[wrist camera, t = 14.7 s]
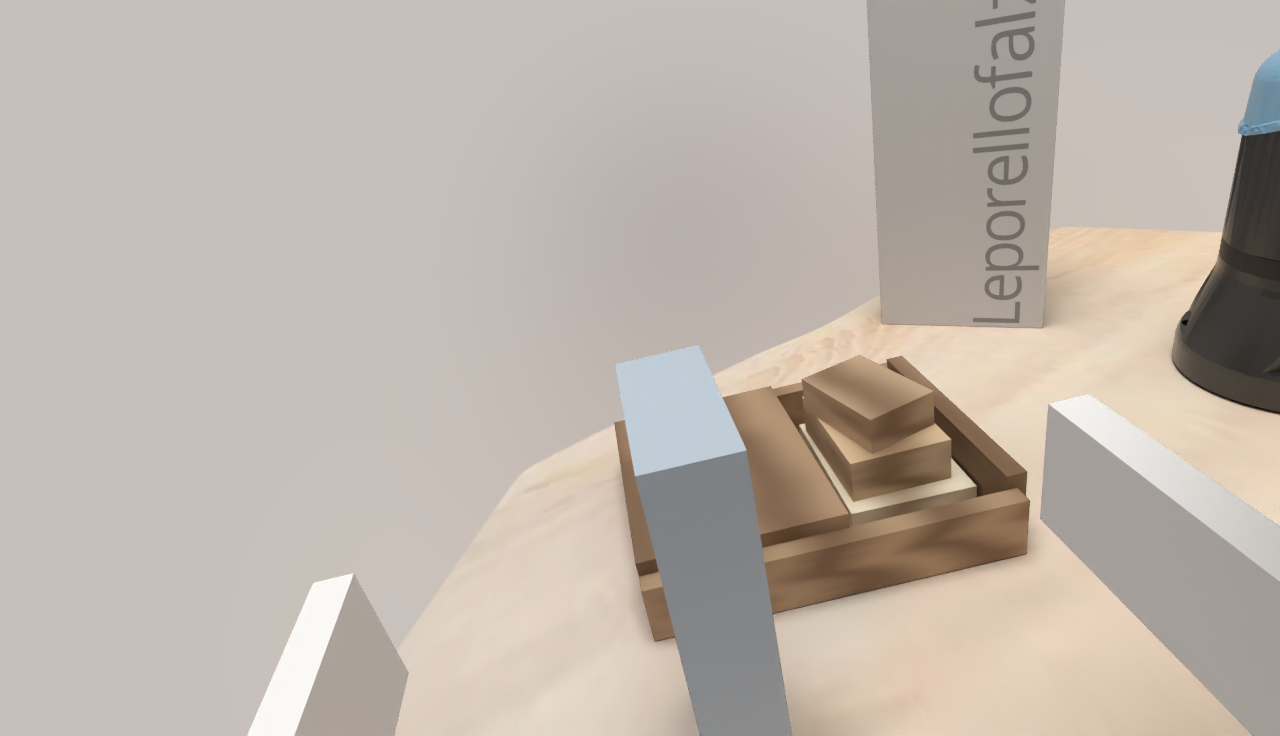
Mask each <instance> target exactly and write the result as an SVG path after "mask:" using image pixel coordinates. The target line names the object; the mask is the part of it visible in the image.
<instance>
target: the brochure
mask: <svg viewBox="0 0 1280 736" xmlns="http://www.w3.org/2000/svg"><path fill="white" fill-rule="evenodd" d="M1064 8H1065V0H867V14H868V36H869V57H870V79H871V101H872V120H873V144H874V166H875V186H876V208H877V230H878V251H879V273H880V295H881V317H882V324H903V325H942V326H982V327H1021V328H1043V313H1044V299H1045V284H1046V270H1047V255H1048V241H1049V226H1050V211H1051V197H1052V183H1053V167H1054V153H1055V139H1056V125H1057V110H1058V95H1059V81H1060V66H1061V52H1062V37H1063V23H1064Z"/></svg>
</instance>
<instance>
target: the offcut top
mask: <svg viewBox="0 0 1280 736" xmlns="http://www.w3.org/2000/svg"><path fill="white" fill-rule="evenodd" d="M802 386H803V395H804V404H805V410H806V411H808V412H809V413H811V414H812V415H814V416H816V417H817V418H819V419H820V420H822V421H823V422H825V423H826V424H828V425H829V426H831V427H832V428H834V429H835V430H837V431H838V432H840V433H842V434H843V435H845V436H846V437H848V438H849V439H851V440H852V441H854V442H855V443H857V444H858V445H860V446H861V447H863V448H864V449H866V450H868V451H869V452H871V453H872V454H873V453H875V452H877V451H879V450H881V449H883V448H885V447H887V446H889V445H892V444H894V443H896V442H898V441H900V440H902V439H904V438H906V437H908V436H911V435H913V434H915V433H917V432H919V431H921V430H923V429H925V428H927V427H929V426H932V425H934V391H933V390H931V389H929V388H927V387H925V386H922V385H920V384H918V383H916V382H914V381H912V380H910V379H908V378H906V377H904V376H902V375H900V374H898V373H896V372H894V371H892V370H890V369H888V368H885V367H883V366H881V365H879V364H877V363H875V362H873V361H871V360H869V359H867V358H865V357H863V356H861V355H858V356H856V357H854V358H851V359H849V360H846V361H844V362H842V363H839V364H837V365H835V366H832V367H830V368H827V369H825V370H823V371H820V372H818V373H816V374H813V375H811V376H808V377H806V378H804V379H802Z"/></svg>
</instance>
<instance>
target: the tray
mask: <svg viewBox="0 0 1280 736" xmlns="http://www.w3.org/2000/svg"><path fill="white" fill-rule="evenodd" d="M879 365H881V366H883V367H885V368H888V369H890V370H892V371H894V372H896V373H898V374H900V375H902V376H904V377H906V378H908V379H910V380H912V381H914V382H916V383H918V384H920V385H922V386H925V387H927V388H929V389H931V390H933V391H934V423H935V424H936V425H937V426H938V427H939V428H940V429H941V430H942V431H943V432H944V433H945V434H946V435H947V436H948V437H949V438H950V439H951V458H952V459H953V460H954V461H955V462H956V464H957V465H958V466H959V467H960V468H961V469H962V470H963V471H964V472H965V474H966V475H967V476H968V477H969V478H970V479H971V480H972V481H973V482H974V484H975V485H976V486H977V497H976V498H972V499H968V500H963V501H959V502H955V503H950V504H946V505H942V506H938V507H933V508H929V509H925V510H921V511H916V512H912V513H908V514H904V515H899V516H895V517H891V518H887V519H882V520H878V521H874V522H869V523H865V524H861V525H857V526H852V527H850V525H849V514H848V512H847V510H846V509H845V507H844V505H843V504H842V502H841V501H840V499H839V497H838V496H837V494H836V492H835V491H834V489H833V487H832V486H831V484H830V483H829V481H828V479H827V478H826V476H825V474H824V473H823V471H822V469H821V468H820V466H819V465H818V463H817V461H816V460H815V458H814V456H813V455H812V453H811V452H810V450H809V448H808V447H807V445H806V443H805V442H804V440H803V438H802V437H801V435H800V429H799V425H800V424H805V418H804V409H803V400H802V396H804V395H803V386H802V382H801V383H797V384H792V385H788V386H784V387H780V388H775V389H772V388H771V386H770V387H765V388H761V389H757V390H752V391H748V392H744V393H740V394H735V395H731V396H727V397H722V398H723V400H724V402H725V404H726V406H727V408H728V411H729V413H730V415H731V417H732V419H733V421H734V424H735V426H736V428H737V430H738V432H739V435H740V437H741V439H742V441H743V443H744V445H745V448H746V450H747V455H748V461H749V467H750V474H751V480H752V486H753V493H754V499H755V505H756V512H757V518H758V524H759V531H760V537H761V543H762V550H763V556H764V562H765V569H766V575H767V581H768V588H769V594H770V600H771V607H772V613H777V612H781V611H785V610H790V609H794V608H798V607H802V606H807V605H811V604H815V603H819V602H824V601H828V600H832V599H836V598H841V597H845V596H849V595H853V594H858V593H862V592H866V591H870V590H875V589H879V588H883V587H887V586H892V585H896V584H900V583H904V582H909V581H913V580H917V579H921V578H926V577H930V576H934V575H938V574H943V573H947V572H951V571H955V570H959V569H964V568H968V567H972V566H976V565H981V564H985V563H989V562H993V561H998V560H1002V559H1006V558H1010V557H1015V556H1019V555H1023V554H1026V550H1027V535H1028V521H1029V506H1030V500H1029V499H1028V498H1027V497H1026V483H1027V471H1026V470H1025V469H1024V468H1023V467H1022V466H1020V465H1019V464H1018V463H1017V462H1016V461H1015V460H1014V459H1013V458H1012V457H1011V456H1010V455H1009V454H1007V453H1006V452H1005V451H1004V450H1003V449H1002V448H1001V447H1000V446H999V445H998V444H997V443H996V442H994V441H993V440H992V439H991V438H990V437H989V436H988V435H987V434H986V433H985V432H984V431H983V430H982V429H980V428H979V427H978V426H977V425H976V424H975V423H974V422H973V421H972V420H971V419H970V418H969V417H967V416H966V415H965V414H964V413H963V412H962V411H961V410H960V409H959V408H958V407H957V406H956V405H954V404H953V403H952V402H951V401H950V400H949V399H948V398H947V397H946V396H945V395H944V394H943V393H942V392H940V391H939V390H938V389H937V388H936V387H935V386H934V385H933V384H932V383H931V382H930V381H929V380H927V379H926V378H925V377H924V376H923V375H922V374H921V373H920V372H919V371H918V370H917V369H916V368H914V367H913V366H912V365H911V364H910V363H909V362H908V361H907V360H906V359H905V358H904V357H903V356H899V357H895V358H890V359H887V363H883V364H879ZM614 424H615V430H616V437H617V444H618V450H619V457H620V464H621V470H622V477H623V483H624V490H625V497H626V503H627V510H628V517H629V523H630V530H631V536H632V543H633V550H634V556H635V563H636V567H637V571H638V574H639V579H640V586H641V592H642V596H643V599H644V603H645V607H646V611H647V614H648V618H649V622H650V625H651V629H652V633H653V637H654V640H655V641H658V640H662V639H667V638H671V637H675V634H674V630H673V626H672V622H671V618H670V614H669V610H668V606H667V602H666V598H665V594H664V590H663V586H662V582H661V578H660V574H659V570H658V566H657V562H656V558H655V554H654V550H653V546H652V542H651V538H650V534H649V530H648V526H647V522H646V518H645V514H644V510H643V506H642V502H641V498H640V494H639V490H638V486H637V482H636V478H635V474H634V468H633V463H632V457H631V451H630V446H629V440H628V435H627V429H626V424H625V420H623V421H619V422H615V423H614Z"/></svg>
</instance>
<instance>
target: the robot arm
mask: <svg viewBox="0 0 1280 736" xmlns="http://www.w3.org/2000/svg"><path fill="white" fill-rule="evenodd" d="M1238 133H1239V134H1242V138H1241V143H1240V148H1239V153H1238V158H1237V163H1236V168H1235V173H1234V178H1233V183H1232V189H1231V193H1230V198H1229V203H1228V208H1227V213H1226V218H1225V223H1224V228H1223V234H1222V240H1221V245H1220V250H1219V254H1218V259H1217V262H1216V264H1215V266H1214V268H1213V269H1212V271H1211V272H1210V274H1209V276H1208V277H1207V279H1206V280H1205V282H1204V284H1203V285H1202V287H1201V288H1200V290H1199V292H1198V294H1197V295H1196V297H1195V299H1194V301H1193V303H1192V305H1191V307H1190V310H1189V311H1188V312H1186V313H1185V314H1184V316H1183V317H1182V318H1181V320H1180V322H1179V323H1178V326H1177V328H1176V332H1175V338H1174V344H1173V350H1172V358H1173V361H1174V363H1175V365H1176V366H1177V368H1178V369H1179V370H1180V371H1181V372H1182V373H1183V374H1184V375H1185V376H1186V377H1188V378H1189V379H1190V380H1192V381H1193V382H1195V383H1197V384H1198V385H1200V386H1202V387H1204V388H1206V389H1208V390H1210V391H1212V392H1214V393H1217V394H1219V395H1221V396H1224V397H1227V398H1229V399H1232V400H1235V401H1238V402H1241V403H1245V404H1248V405H1252V406H1256V407H1260V408H1264V409H1268V410H1273V411H1278V412H1280V50H1279V51H1277V52H1275V53H1274V54H1273V55H1271V56H1270V57H1269V58H1268V59H1267V60H1266V61H1265V62H1264V63H1263V64H1262V65H1261V66H1260V68H1259V69H1258V71H1257V73H1256V75H1255V77H1254V80H1253V84H1252V88H1251V92H1250V96H1249V100H1248V104H1247V108H1246V112H1245V116H1244V118H1243V119H1242V120H1241V122H1240V124H1239V127H1238ZM1040 519H1041V520H1042V521H1043V522H1044V523H1045V524H1046V525H1047V526H1048V527H1049V528H1050V529H1051V530H1052V531H1053V532H1054V533H1055V534H1056V535H1057V536H1058V537H1059V538H1060V539H1061V540H1062V541H1063V542H1064V543H1065V544H1066V545H1067V546H1068V548H1069V549H1070V550H1071V551H1072V552H1073V553H1074V554H1075V555H1076V556H1077V557H1078V558H1079V559H1080V560H1081V561H1082V562H1083V563H1084V564H1085V565H1086V566H1087V567H1088V568H1089V569H1090V570H1091V571H1092V572H1093V573H1094V574H1095V575H1096V576H1097V577H1098V578H1099V579H1100V580H1101V581H1102V582H1103V583H1104V584H1105V585H1106V586H1107V587H1108V588H1109V589H1110V590H1111V591H1112V592H1113V593H1114V594H1115V595H1116V596H1117V597H1118V598H1119V599H1120V600H1121V601H1122V603H1123V604H1124V605H1125V606H1126V607H1127V608H1128V609H1129V610H1130V611H1131V612H1132V613H1133V614H1134V615H1135V616H1136V617H1137V618H1138V619H1139V620H1140V621H1141V622H1142V623H1143V624H1144V625H1145V626H1146V627H1147V628H1148V629H1149V630H1150V631H1151V632H1152V633H1153V634H1154V635H1155V636H1156V637H1157V638H1158V639H1159V640H1160V641H1161V642H1162V643H1163V644H1164V645H1165V646H1166V647H1167V648H1168V649H1169V650H1170V651H1171V652H1172V653H1173V654H1174V655H1175V657H1176V658H1177V659H1178V660H1179V661H1180V662H1181V663H1182V664H1183V665H1184V666H1185V667H1186V668H1187V669H1188V670H1189V671H1190V672H1191V673H1192V674H1193V675H1194V676H1195V677H1196V678H1197V679H1198V680H1199V681H1200V682H1201V683H1202V684H1203V685H1204V686H1205V687H1206V688H1207V689H1208V690H1209V691H1210V692H1211V693H1212V694H1213V695H1214V696H1215V697H1216V698H1217V699H1218V700H1219V701H1220V702H1221V703H1222V704H1223V705H1224V706H1225V707H1226V708H1227V709H1228V710H1229V712H1230V713H1231V714H1232V715H1233V716H1234V717H1235V718H1236V719H1237V720H1238V721H1239V722H1240V723H1241V724H1242V725H1243V726H1244V727H1245V728H1246V729H1247V730H1248V731H1249V732H1250V733H1251V734H1252V735H1253V736H1280V526H1279V525H1277V524H1276V523H1275V522H1273V521H1272V520H1270V519H1269V518H1267V517H1266V516H1264V515H1263V514H1262V513H1260V512H1259V511H1257V510H1256V509H1254V508H1253V507H1251V506H1250V505H1249V504H1247V503H1246V502H1244V501H1243V500H1241V499H1240V498H1238V497H1237V496H1236V495H1234V494H1233V493H1231V492H1230V491H1228V490H1227V489H1225V488H1224V487H1223V486H1221V485H1220V484H1218V483H1217V482H1215V481H1214V480H1212V479H1211V478H1210V477H1208V476H1207V475H1205V474H1204V473H1202V472H1201V471H1199V470H1198V469H1197V468H1195V467H1194V466H1192V465H1191V464H1189V463H1188V462H1186V461H1185V460H1184V459H1182V458H1181V457H1179V456H1178V455H1176V454H1175V453H1173V452H1172V451H1171V450H1169V449H1168V448H1166V447H1165V446H1163V445H1162V444H1160V443H1159V442H1158V441H1156V440H1155V439H1153V438H1152V437H1150V436H1149V435H1147V434H1146V433H1145V432H1143V431H1142V430H1140V429H1139V428H1137V427H1136V426H1134V425H1133V424H1132V423H1130V422H1129V421H1127V420H1126V419H1124V418H1123V417H1121V416H1120V415H1119V414H1117V413H1116V412H1114V411H1113V410H1111V409H1110V408H1108V407H1107V406H1106V405H1104V404H1103V403H1101V402H1100V401H1098V400H1097V399H1095V398H1094V397H1093V396H1091V395H1090V394H1087V395H1083V396H1078V397H1074V398H1070V399H1066V400H1062V401H1058V402H1054V403H1050V404H1048V416H1047V430H1046V444H1045V458H1044V472H1043V486H1042V500H1041V514H1040ZM407 677H408V671H407V669H406V667H405V665H404V664H403V662H402V660H401V658H400V656H399V654H398V653H397V651H396V649H395V647H394V645H393V644H392V642H391V640H390V638H389V637H388V634H387V633H386V631H385V629H384V627H383V625H382V623H381V622H380V620H379V618H378V616H377V614H376V612H375V611H374V609H373V607H372V605H371V603H370V602H369V600H368V598H367V596H366V594H365V592H364V591H363V589H362V587H361V585H360V583H359V581H358V580H357V578H356V576H355V574H354V573H353V574H348V575H345V576H340V577H336V578H332V579H328V580H324V581H320V582H316V583H313V585H312V588H311V590H310V592H309V594H308V597H307V599H306V601H305V603H304V606H303V608H302V610H301V613H300V615H299V617H298V620H297V622H296V624H295V627H294V629H293V631H292V633H291V636H290V638H289V640H288V643H287V645H286V647H285V650H284V652H283V654H282V657H281V659H280V661H279V664H278V666H277V668H276V670H275V673H274V675H273V677H272V680H271V682H270V684H269V687H268V689H267V691H266V693H265V696H264V698H263V700H262V703H261V705H260V707H259V710H258V712H257V714H256V717H255V719H254V721H253V723H252V726H251V728H250V730H249V733H248V735H247V736H394V735H395V730H396V726H397V721H398V717H399V713H400V708H401V704H402V699H403V695H404V690H405V686H406V682H407Z"/></svg>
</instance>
